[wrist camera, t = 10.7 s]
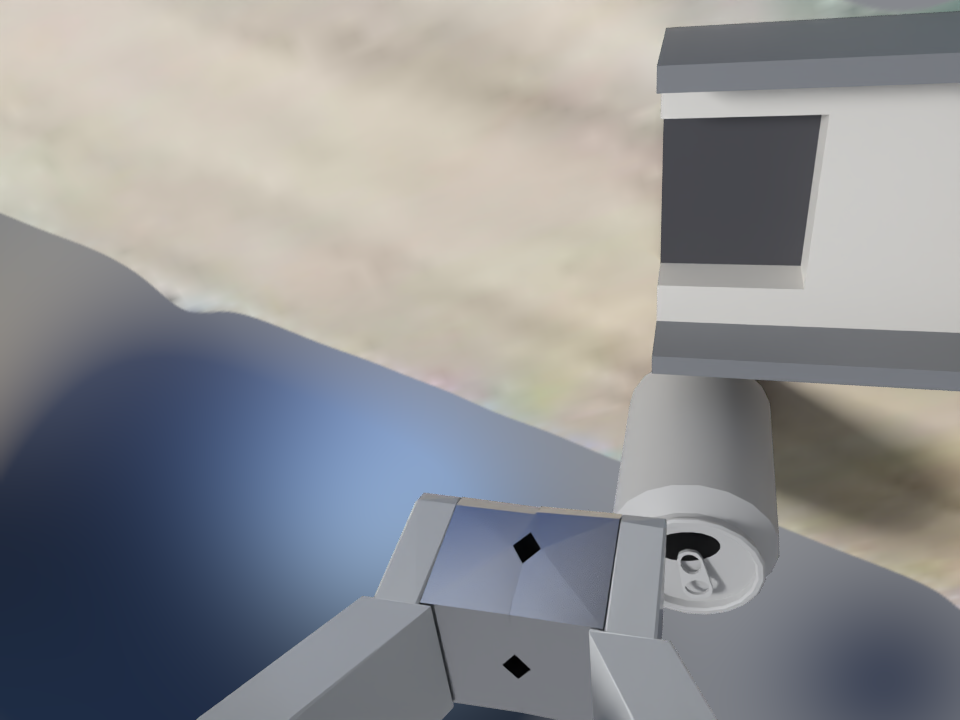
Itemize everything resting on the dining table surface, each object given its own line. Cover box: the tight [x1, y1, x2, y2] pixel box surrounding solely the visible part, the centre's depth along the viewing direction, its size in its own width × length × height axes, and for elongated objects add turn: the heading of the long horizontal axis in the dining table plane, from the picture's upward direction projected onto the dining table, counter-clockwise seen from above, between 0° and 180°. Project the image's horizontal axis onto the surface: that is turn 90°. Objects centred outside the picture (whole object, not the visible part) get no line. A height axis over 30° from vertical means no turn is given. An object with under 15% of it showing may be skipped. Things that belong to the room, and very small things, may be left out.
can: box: [613, 372, 779, 614], centre depth 39 cm, size 8×8×12 cm
